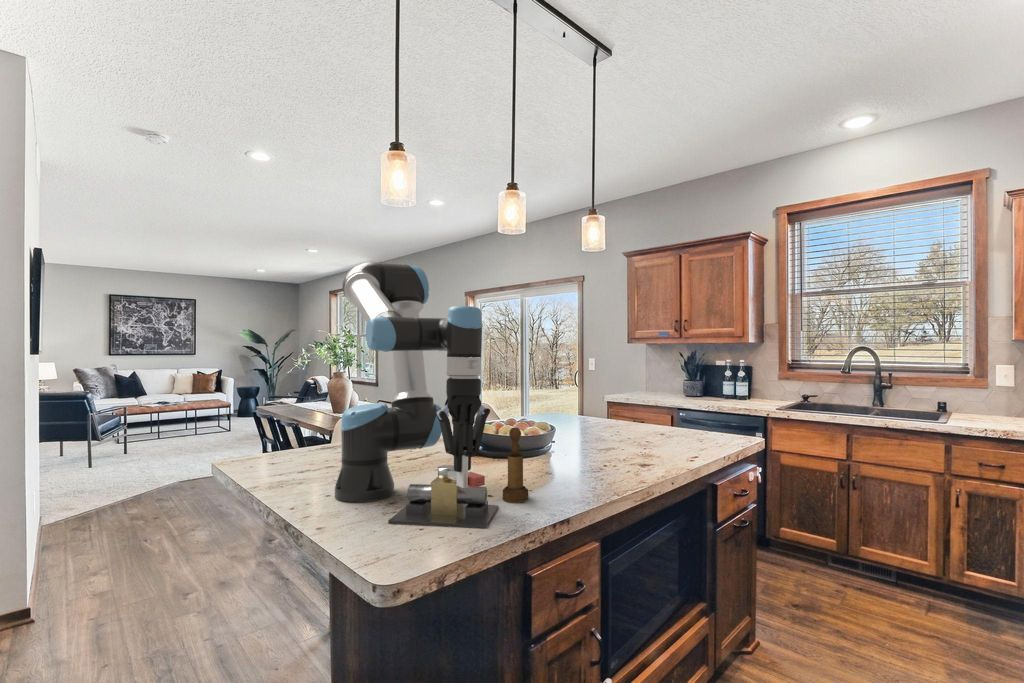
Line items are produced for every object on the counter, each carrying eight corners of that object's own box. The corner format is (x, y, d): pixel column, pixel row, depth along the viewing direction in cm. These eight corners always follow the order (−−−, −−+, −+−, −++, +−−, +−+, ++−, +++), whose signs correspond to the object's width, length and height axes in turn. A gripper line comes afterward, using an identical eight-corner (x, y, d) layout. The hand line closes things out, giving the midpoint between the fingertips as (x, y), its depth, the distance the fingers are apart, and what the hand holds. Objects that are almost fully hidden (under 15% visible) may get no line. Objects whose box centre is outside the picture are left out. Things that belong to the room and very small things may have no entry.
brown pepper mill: (519, 504, 125) (519, 430, 125) (497, 500, 128) (497, 428, 128) (533, 497, 130) (532, 427, 131) (511, 493, 134) (511, 425, 134)
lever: (434, 475, 119) (434, 467, 119) (449, 472, 122) (449, 464, 122) (471, 488, 108) (471, 478, 108) (487, 484, 111) (487, 475, 111)
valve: (388, 523, 112) (388, 485, 112) (410, 503, 126) (410, 470, 126) (486, 528, 109) (486, 489, 109) (498, 507, 122) (498, 472, 123)
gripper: (446, 378, 105) (444, 494, 104) (497, 377, 112) (496, 485, 112) (429, 377, 111) (427, 486, 110) (479, 376, 118) (477, 478, 118)
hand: (462, 486), depth 111 cm, fingers closed
